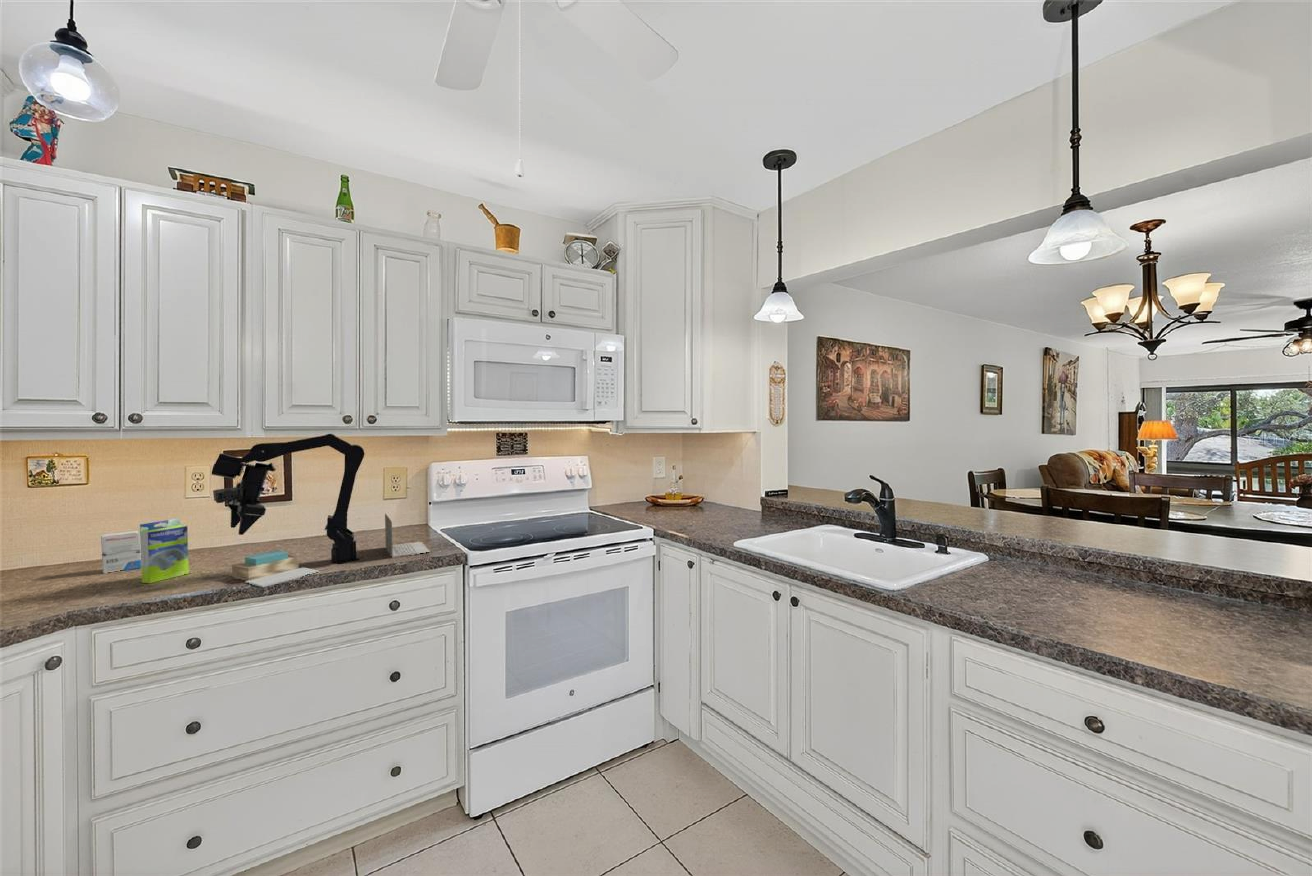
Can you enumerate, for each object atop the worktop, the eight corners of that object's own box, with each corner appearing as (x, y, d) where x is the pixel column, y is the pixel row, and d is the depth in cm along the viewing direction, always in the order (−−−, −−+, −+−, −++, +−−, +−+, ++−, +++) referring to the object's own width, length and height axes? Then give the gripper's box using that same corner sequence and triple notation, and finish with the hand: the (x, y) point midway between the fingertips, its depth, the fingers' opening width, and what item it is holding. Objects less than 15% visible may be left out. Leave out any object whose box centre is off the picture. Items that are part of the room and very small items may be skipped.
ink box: (141, 565, 172) (139, 529, 171) (141, 568, 168) (139, 532, 168) (103, 570, 166) (101, 534, 165) (102, 574, 162) (100, 536, 162)
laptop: (430, 553, 187) (429, 517, 186) (391, 559, 180) (390, 521, 179) (421, 543, 202) (421, 510, 201) (385, 548, 195) (384, 513, 194)
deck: (282, 565, 171) (282, 553, 170) (298, 569, 167) (298, 557, 166) (232, 577, 158) (232, 564, 158) (248, 581, 154) (248, 568, 154)
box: (149, 584, 152) (146, 525, 152) (140, 582, 154) (137, 524, 153) (190, 573, 162) (188, 518, 162) (181, 572, 164) (179, 517, 163)
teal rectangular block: (277, 556, 167) (277, 550, 167) (288, 558, 165) (288, 552, 165) (245, 563, 159) (244, 557, 159) (256, 565, 157) (255, 559, 157)
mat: (302, 568, 167) (302, 567, 167) (319, 572, 163) (319, 570, 163) (245, 583, 153) (245, 581, 153) (262, 587, 149) (262, 585, 149)
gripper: (213, 472, 163) (196, 521, 162) (228, 483, 152) (211, 536, 150) (255, 478, 172) (240, 525, 170) (273, 489, 160) (257, 539, 159)
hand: (236, 531), depth 162 cm, fingers open, 9 cm apart
